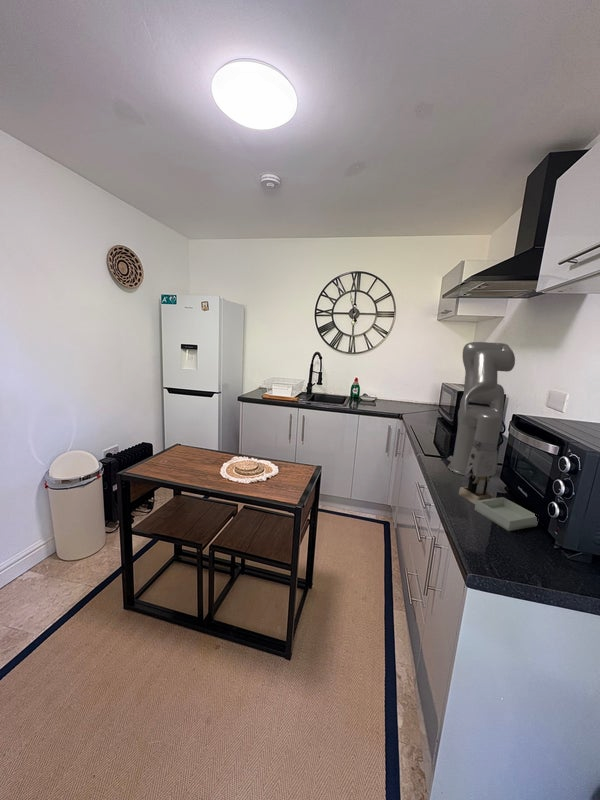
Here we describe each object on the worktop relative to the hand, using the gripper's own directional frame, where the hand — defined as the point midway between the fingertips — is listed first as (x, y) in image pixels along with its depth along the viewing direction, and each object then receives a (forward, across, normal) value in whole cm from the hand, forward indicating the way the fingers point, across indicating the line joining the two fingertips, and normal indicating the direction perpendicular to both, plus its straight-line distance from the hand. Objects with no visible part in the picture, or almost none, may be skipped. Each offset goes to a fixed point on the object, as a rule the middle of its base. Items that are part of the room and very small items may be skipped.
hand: (476, 490), depth 119 cm
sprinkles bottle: (+4, 0, 0) cm, 4 cm away
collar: (+3, 0, 0) cm, 3 cm away
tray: (+3, -1, -13) cm, 13 cm away
